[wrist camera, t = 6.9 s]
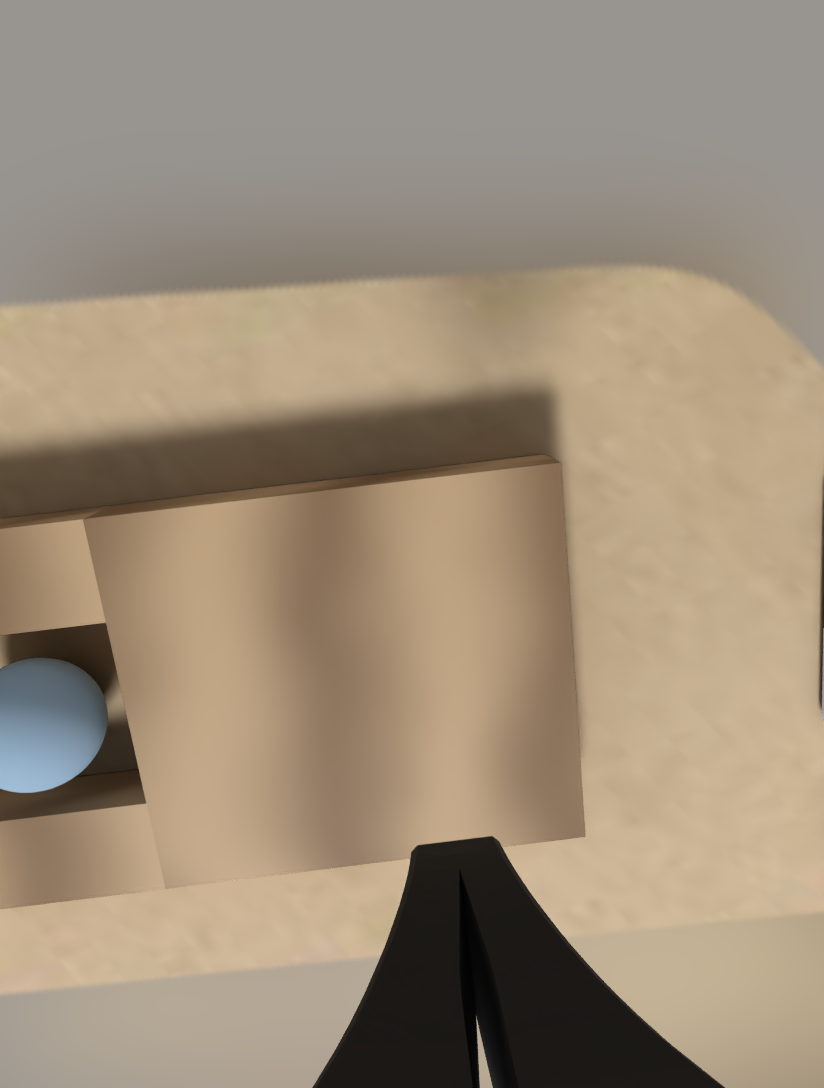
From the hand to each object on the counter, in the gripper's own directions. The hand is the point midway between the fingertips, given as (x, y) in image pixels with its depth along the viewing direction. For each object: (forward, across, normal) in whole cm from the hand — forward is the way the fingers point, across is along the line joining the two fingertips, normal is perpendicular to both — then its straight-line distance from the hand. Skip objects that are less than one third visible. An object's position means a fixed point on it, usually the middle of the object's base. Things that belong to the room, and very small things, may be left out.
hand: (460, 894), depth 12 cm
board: (+10, +7, 0) cm, 13 cm away
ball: (+9, +11, 0) cm, 14 cm away
